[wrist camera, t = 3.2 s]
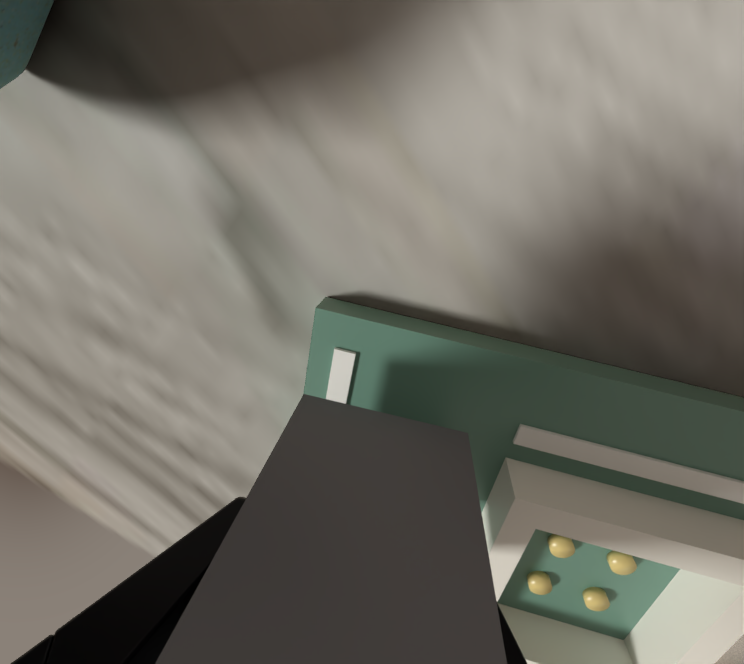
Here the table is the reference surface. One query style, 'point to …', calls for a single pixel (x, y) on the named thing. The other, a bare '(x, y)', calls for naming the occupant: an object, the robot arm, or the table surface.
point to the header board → (570, 482)
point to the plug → (350, 552)
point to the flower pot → (19, 34)
